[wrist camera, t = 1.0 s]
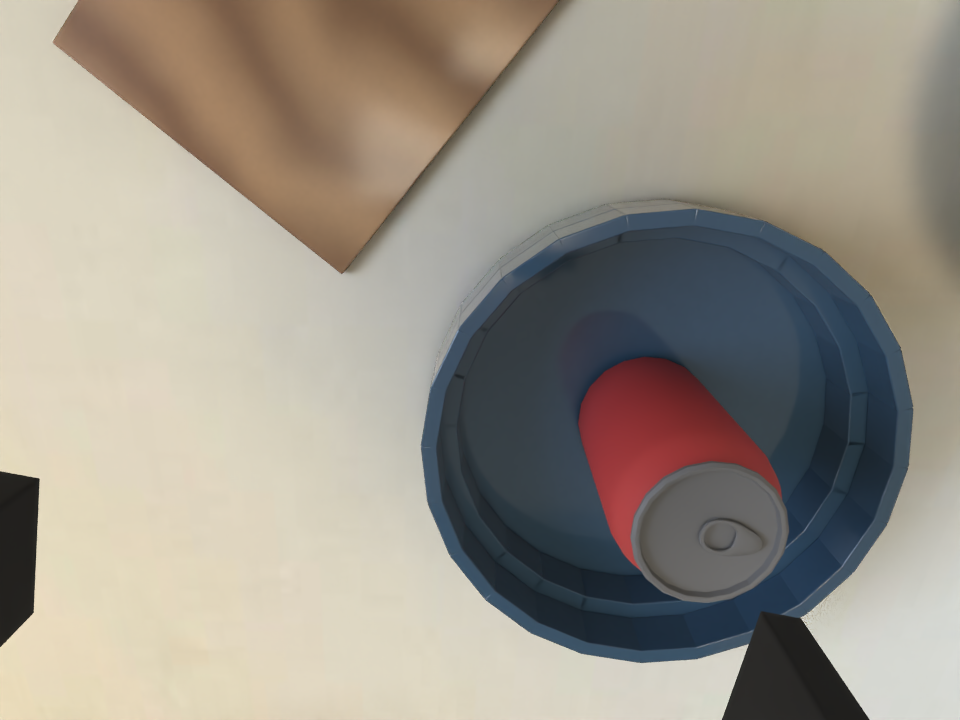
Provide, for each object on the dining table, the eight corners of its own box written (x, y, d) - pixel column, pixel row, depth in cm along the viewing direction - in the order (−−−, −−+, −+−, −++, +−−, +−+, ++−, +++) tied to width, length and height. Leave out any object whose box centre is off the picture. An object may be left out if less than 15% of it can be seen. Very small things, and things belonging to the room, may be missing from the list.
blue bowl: (631, 101, 34) (659, 94, 28) (940, 389, 37) (1015, 430, 32) (347, 436, 38) (325, 483, 33) (647, 661, 42) (670, 736, 37)
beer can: (681, 487, 39) (764, 634, 27) (560, 457, 38) (593, 594, 27) (725, 371, 37) (834, 475, 25) (598, 338, 36) (651, 430, 25)
